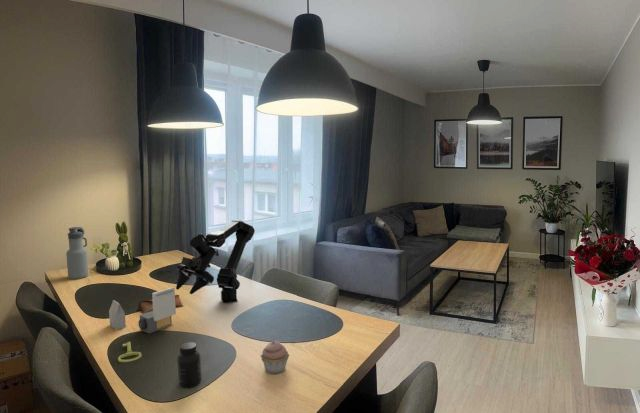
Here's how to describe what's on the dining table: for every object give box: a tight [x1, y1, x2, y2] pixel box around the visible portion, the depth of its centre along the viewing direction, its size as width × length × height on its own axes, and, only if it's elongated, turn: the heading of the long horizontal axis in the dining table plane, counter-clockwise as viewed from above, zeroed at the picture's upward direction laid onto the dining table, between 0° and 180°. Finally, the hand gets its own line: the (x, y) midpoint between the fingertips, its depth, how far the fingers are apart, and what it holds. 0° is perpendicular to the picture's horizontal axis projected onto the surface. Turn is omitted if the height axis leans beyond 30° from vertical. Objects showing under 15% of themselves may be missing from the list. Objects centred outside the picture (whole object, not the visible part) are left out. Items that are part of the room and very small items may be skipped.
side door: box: [151, 286, 177, 321], centre depth 161 cm, size 9×2×11 cm, turn 144°
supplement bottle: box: [176, 341, 203, 389], centre depth 124 cm, size 7×7×12 cm
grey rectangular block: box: [137, 311, 173, 334], centre depth 163 cm, size 11×6×6 cm, turn 144°
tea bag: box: [108, 299, 127, 331], centre depth 164 cm, size 4×7×10 cm, turn 46°
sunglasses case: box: [138, 294, 184, 314], centre depth 185 cm, size 18×7×7 cm, turn 125°
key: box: [117, 341, 142, 363], centre depth 142 cm, size 7×12×2 cm, turn 45°
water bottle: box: [66, 226, 89, 280], centre depth 227 cm, size 10×10×28 cm
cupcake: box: [260, 339, 290, 375], centre depth 132 cm, size 9×9×10 cm
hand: (183, 291), depth 168 cm, fingers open, 9 cm apart
